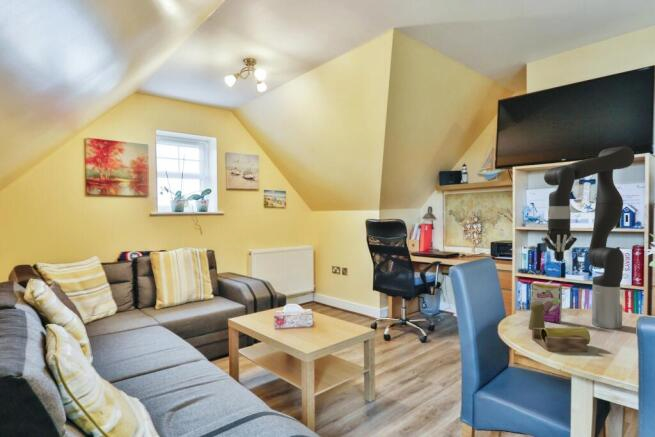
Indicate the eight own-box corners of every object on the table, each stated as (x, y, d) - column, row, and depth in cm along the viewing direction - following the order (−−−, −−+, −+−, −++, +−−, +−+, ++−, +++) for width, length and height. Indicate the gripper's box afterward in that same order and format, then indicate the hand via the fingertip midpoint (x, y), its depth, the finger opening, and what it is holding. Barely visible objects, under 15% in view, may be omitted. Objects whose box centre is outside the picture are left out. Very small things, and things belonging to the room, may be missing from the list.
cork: (544, 328, 150) (544, 301, 150) (546, 332, 145) (546, 305, 144) (527, 326, 153) (528, 300, 152) (529, 330, 147) (529, 303, 147)
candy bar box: (530, 319, 162) (531, 282, 162) (533, 316, 166) (533, 281, 166) (559, 324, 155) (560, 286, 155) (561, 321, 159) (562, 284, 159)
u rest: (568, 340, 136) (568, 328, 136) (586, 352, 125) (587, 339, 125) (532, 339, 137) (532, 327, 137) (547, 350, 126) (547, 338, 126)
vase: (591, 331, 126) (549, 331, 127) (590, 347, 127) (547, 347, 128) (580, 323, 132) (540, 323, 133) (579, 339, 133) (539, 339, 134)
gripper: (570, 217, 148) (570, 259, 148) (537, 217, 149) (537, 259, 149) (582, 217, 140) (582, 262, 141) (546, 218, 141) (546, 262, 142)
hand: (558, 260), depth 145 cm, fingers closed
